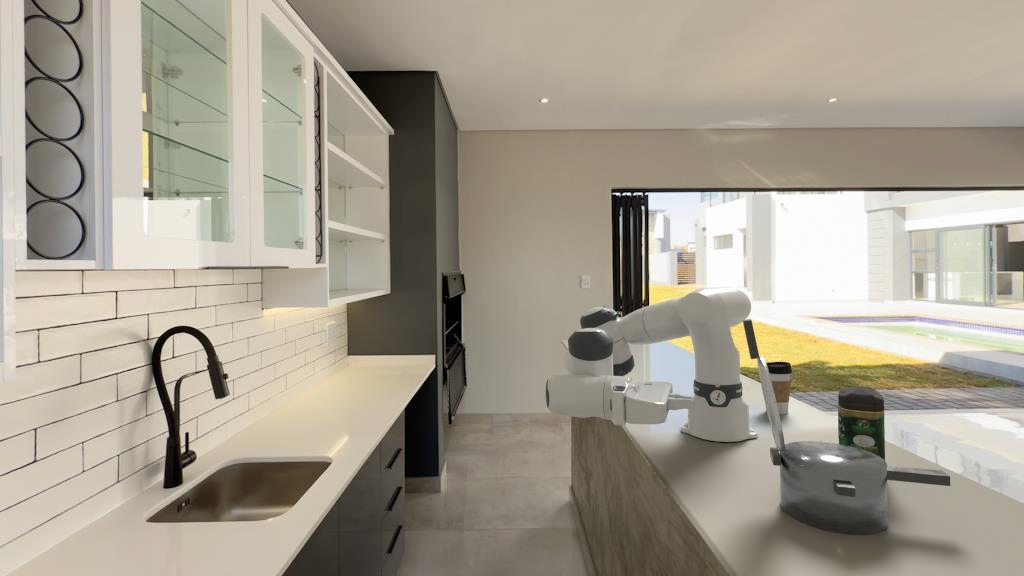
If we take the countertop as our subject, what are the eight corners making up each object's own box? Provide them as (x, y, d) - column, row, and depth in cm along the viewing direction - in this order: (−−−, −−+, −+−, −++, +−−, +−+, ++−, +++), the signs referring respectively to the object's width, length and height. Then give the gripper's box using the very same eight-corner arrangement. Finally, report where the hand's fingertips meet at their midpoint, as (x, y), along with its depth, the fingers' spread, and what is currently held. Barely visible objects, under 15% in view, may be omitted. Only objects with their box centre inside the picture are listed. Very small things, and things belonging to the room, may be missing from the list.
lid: (777, 434, 100) (765, 435, 101) (752, 315, 101) (740, 317, 102) (789, 464, 85) (775, 465, 85) (760, 323, 86) (746, 325, 86)
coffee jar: (838, 466, 111) (837, 381, 110) (883, 473, 106) (882, 385, 106) (839, 482, 102) (837, 391, 102) (887, 490, 98) (886, 395, 98)
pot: (766, 481, 103) (765, 433, 103) (921, 499, 94) (921, 445, 94) (779, 532, 83) (779, 472, 83) (979, 560, 74) (979, 492, 74)
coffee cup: (798, 415, 150) (797, 365, 150) (769, 416, 150) (769, 365, 150) (783, 408, 159) (783, 360, 158) (756, 408, 159) (755, 361, 159)
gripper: (629, 401, 112) (696, 405, 107) (613, 428, 93) (693, 434, 88) (629, 373, 112) (695, 376, 107) (612, 393, 93) (692, 398, 88)
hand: (694, 402), depth 98 cm, fingers closed
